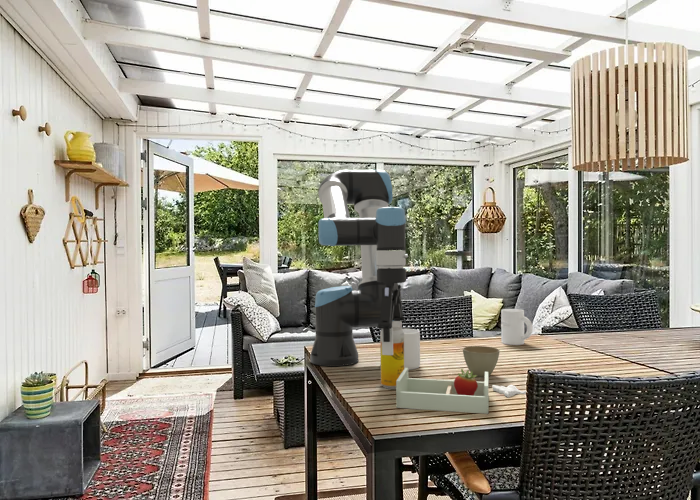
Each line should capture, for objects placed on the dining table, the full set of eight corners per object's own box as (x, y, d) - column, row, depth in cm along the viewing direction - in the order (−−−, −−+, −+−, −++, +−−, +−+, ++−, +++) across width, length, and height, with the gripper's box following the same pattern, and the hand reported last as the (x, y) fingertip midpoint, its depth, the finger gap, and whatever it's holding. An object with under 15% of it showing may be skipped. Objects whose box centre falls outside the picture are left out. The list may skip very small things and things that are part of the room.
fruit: (476, 407, 119) (476, 372, 119) (452, 405, 121) (452, 370, 121) (478, 401, 124) (478, 367, 124) (455, 399, 126) (455, 365, 125)
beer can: (403, 389, 134) (402, 330, 134) (379, 388, 135) (378, 330, 135) (405, 383, 140) (404, 326, 140) (382, 382, 141) (381, 326, 141)
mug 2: (525, 347, 186) (525, 313, 186) (496, 342, 195) (496, 310, 195) (538, 344, 191) (538, 311, 191) (509, 340, 200) (509, 308, 200)
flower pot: (474, 380, 142) (474, 353, 142) (456, 372, 152) (456, 347, 152) (507, 377, 145) (506, 351, 145) (487, 369, 155) (487, 344, 155)
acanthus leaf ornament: (508, 400, 127) (508, 392, 127) (488, 393, 133) (488, 385, 133) (531, 395, 130) (531, 387, 130) (510, 388, 136) (510, 381, 136)
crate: (396, 407, 120) (396, 381, 120) (405, 391, 132) (405, 367, 132) (488, 413, 115) (488, 386, 115) (488, 396, 127) (488, 371, 127)
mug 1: (377, 368, 158) (376, 332, 158) (405, 362, 165) (404, 327, 165) (397, 373, 151) (397, 335, 151) (426, 366, 159) (425, 330, 159)
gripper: (397, 268, 124) (398, 359, 124) (412, 265, 148) (413, 342, 148) (366, 269, 126) (367, 358, 126) (386, 266, 150) (387, 341, 150)
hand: (392, 349), depth 137 cm, fingers open, 13 cm apart
